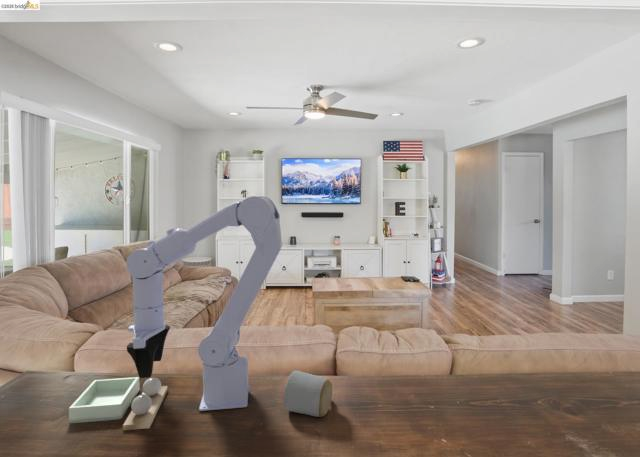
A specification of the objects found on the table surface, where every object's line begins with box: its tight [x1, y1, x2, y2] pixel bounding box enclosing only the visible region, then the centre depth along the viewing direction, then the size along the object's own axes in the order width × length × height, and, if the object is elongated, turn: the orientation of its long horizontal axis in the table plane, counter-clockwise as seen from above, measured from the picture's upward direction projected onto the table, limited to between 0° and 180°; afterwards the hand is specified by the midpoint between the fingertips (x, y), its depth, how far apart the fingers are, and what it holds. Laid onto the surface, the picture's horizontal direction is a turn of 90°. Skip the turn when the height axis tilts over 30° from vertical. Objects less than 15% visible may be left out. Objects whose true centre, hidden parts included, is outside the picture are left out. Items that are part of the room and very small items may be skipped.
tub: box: [68, 376, 141, 424], centre depth 78 cm, size 9×11×3 cm
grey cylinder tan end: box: [283, 369, 333, 418], centre depth 77 cm, size 11×8×8 cm
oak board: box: [122, 385, 169, 431], centre depth 77 cm, size 5×14×1 cm, turn 9°
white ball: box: [142, 377, 162, 396], centre depth 80 cm, size 4×4×4 cm
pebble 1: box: [130, 393, 152, 415], centre depth 73 cm, size 4×4×4 cm
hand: (150, 368), depth 80 cm, fingers open, 7 cm apart
